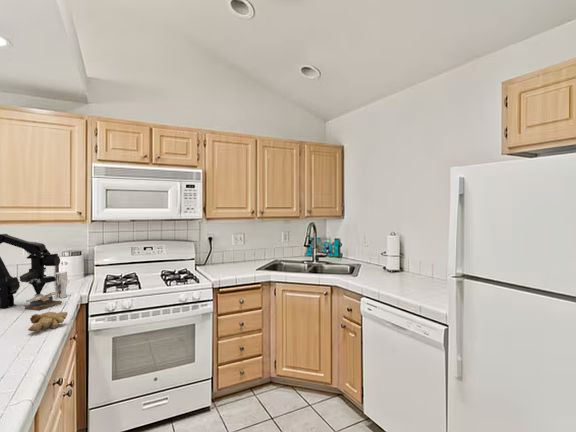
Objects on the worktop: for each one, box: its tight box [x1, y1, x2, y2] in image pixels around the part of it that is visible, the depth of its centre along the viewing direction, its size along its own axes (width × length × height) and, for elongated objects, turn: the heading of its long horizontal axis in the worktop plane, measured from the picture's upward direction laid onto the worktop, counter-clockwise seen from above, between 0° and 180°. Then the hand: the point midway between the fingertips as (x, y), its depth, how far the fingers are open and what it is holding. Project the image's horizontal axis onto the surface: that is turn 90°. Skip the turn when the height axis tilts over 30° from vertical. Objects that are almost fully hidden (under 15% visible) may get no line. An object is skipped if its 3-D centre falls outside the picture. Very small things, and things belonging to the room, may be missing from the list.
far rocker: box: [43, 291, 57, 297], centre depth 186 cm, size 7×3×1 cm, turn 75°
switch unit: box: [24, 295, 63, 311], centre depth 182 cm, size 10×13×4 cm
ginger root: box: [27, 311, 68, 333], centre depth 150 cm, size 16×16×8 cm
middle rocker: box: [33, 293, 50, 301], centre depth 182 cm, size 7×3×1 cm, turn 76°
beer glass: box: [53, 271, 68, 299], centre depth 200 cm, size 7×7×15 cm
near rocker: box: [25, 296, 41, 303], centre depth 178 cm, size 7×3×1 cm, turn 75°
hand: (38, 294), depth 183 cm, fingers closed
